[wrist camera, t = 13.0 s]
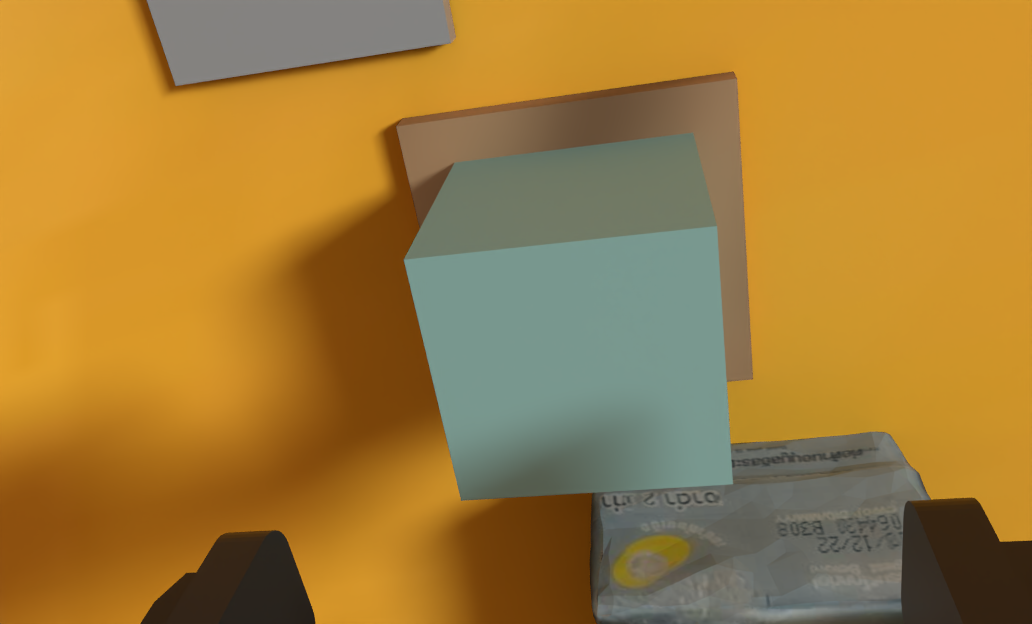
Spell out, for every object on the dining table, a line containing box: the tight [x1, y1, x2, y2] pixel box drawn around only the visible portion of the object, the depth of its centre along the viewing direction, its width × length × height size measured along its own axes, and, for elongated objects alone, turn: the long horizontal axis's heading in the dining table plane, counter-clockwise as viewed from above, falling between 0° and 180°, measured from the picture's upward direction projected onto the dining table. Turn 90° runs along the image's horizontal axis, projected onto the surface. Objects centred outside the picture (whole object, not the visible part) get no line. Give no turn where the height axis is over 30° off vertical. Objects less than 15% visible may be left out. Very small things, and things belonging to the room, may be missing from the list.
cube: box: [404, 133, 733, 501], centre depth 17 cm, size 5×5×5 cm
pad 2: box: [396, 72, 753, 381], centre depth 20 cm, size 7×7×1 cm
